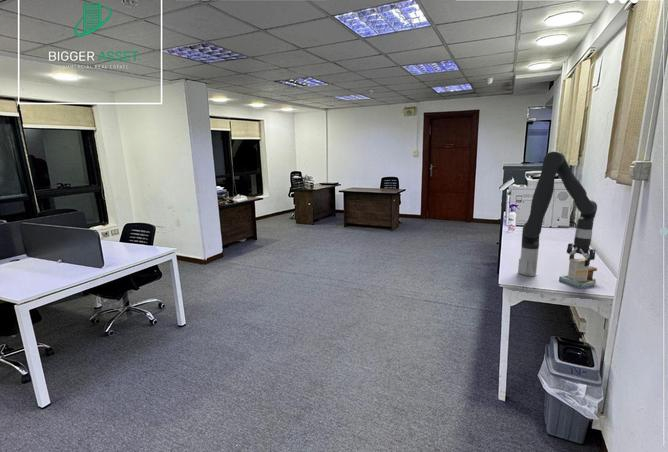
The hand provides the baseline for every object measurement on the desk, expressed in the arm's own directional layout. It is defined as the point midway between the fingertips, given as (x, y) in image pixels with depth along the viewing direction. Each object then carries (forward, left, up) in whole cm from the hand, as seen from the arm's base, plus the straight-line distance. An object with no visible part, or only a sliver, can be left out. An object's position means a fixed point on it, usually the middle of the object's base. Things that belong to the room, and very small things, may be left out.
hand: (578, 263), depth 188 cm
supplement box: (0, 0, -11) cm, 11 cm away
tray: (0, 0, -12) cm, 12 cm away
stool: (+10, 0, -12) cm, 15 cm away
